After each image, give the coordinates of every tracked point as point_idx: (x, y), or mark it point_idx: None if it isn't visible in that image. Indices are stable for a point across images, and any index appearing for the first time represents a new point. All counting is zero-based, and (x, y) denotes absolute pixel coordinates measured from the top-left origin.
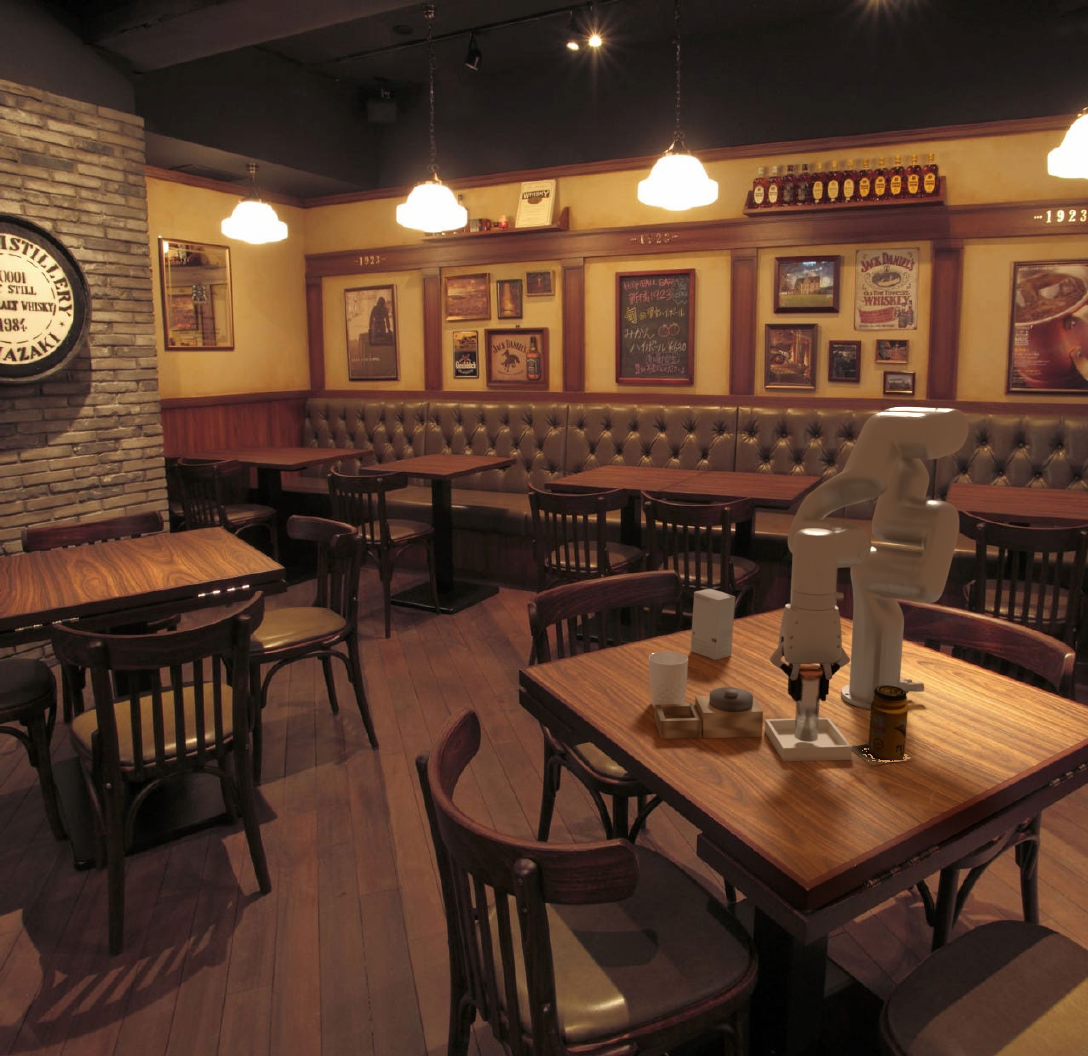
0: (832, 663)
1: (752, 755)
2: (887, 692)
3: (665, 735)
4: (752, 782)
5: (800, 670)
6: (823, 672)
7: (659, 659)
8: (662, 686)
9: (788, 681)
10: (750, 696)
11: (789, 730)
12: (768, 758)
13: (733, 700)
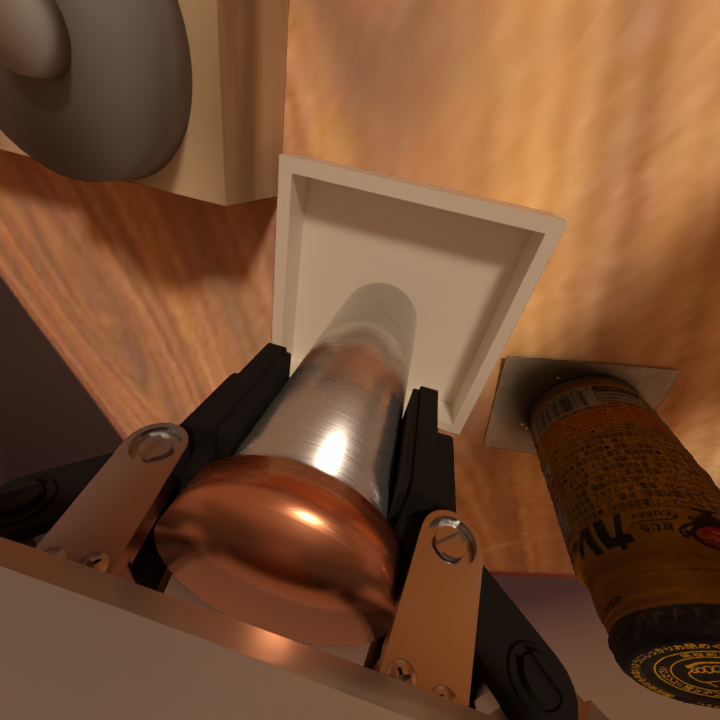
0: (495, 713)
1: (223, 304)
2: (680, 669)
3: None
4: (202, 402)
5: (182, 579)
6: (401, 582)
7: None
8: None
9: (194, 415)
10: (143, 80)
11: (382, 197)
12: (258, 331)
13: (57, 124)
